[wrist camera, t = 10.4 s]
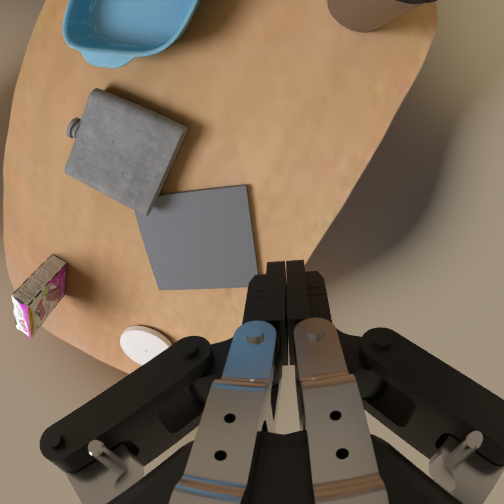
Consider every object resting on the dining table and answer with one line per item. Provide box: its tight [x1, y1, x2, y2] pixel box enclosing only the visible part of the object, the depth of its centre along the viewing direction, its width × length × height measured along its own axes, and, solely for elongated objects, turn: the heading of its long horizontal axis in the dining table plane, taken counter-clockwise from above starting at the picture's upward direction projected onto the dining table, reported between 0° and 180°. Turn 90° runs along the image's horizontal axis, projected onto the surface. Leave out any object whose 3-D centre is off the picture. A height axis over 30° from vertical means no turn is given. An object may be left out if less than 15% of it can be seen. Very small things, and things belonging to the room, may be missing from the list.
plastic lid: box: [120, 326, 172, 365], centre depth 67 cm, size 14×14×2 cm
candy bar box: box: [12, 254, 67, 338], centre depth 53 cm, size 11×5×16 cm, turn 153°
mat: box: [134, 185, 258, 290], centre depth 52 cm, size 19×20×1 cm
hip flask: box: [65, 88, 188, 216], centre depth 43 cm, size 16×4×20 cm
